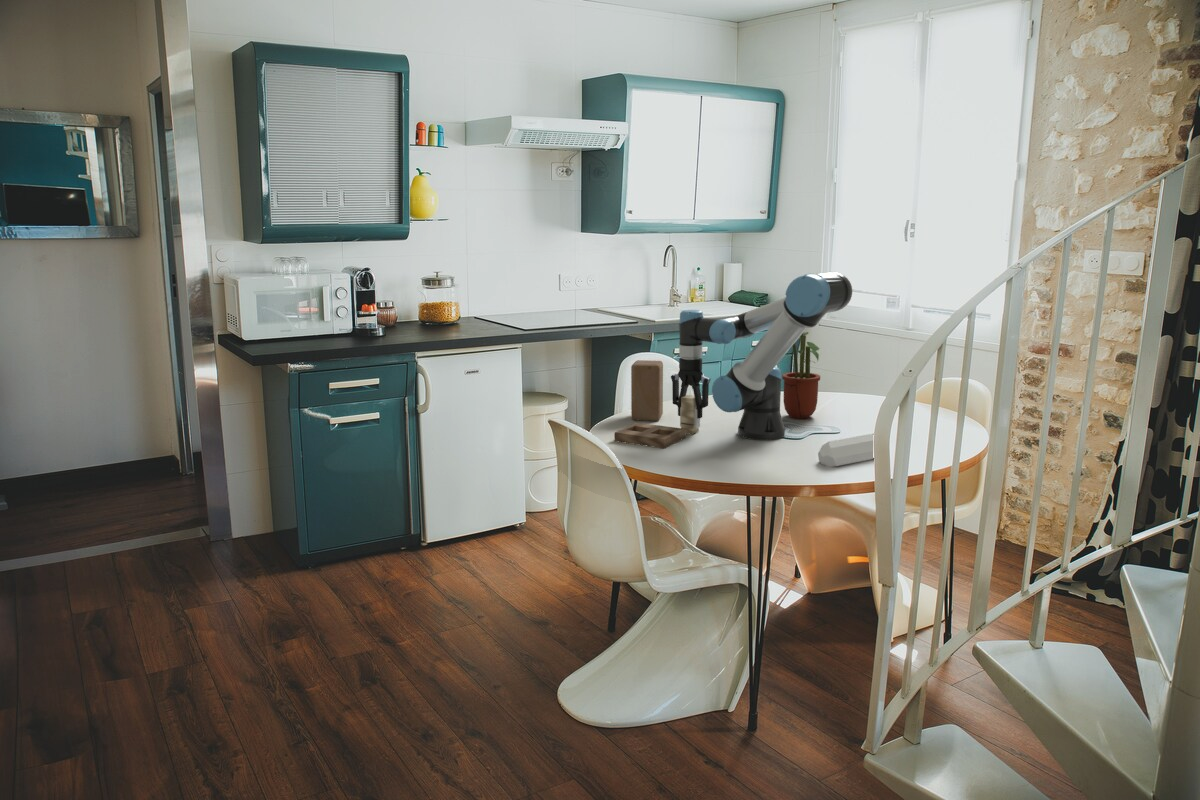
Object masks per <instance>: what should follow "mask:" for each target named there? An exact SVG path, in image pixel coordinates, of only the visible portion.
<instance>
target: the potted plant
mask: <svg viewBox="0 0 1200 800" xmlns="http://www.w3.org/2000/svg"><path fill="white" fill-rule="evenodd" d="M807 335H809V332H808V331H806V332H805V331H804V332H803V333H802V334H801V336H800V337H799V338H798V339H797V340H800V342H799V343H800V344H799V350H797V347H796V342H795V343H794V344H793V345H792V351H793V352H792V353H793V354H789V355H785V356H784V357H783V358H782V360H784V359H786V358H788V357H792V356H793V361H794V371H792V372H786V373H783V374H781V379H782V380H783V405H784V406H783V407H784V410H785V412H786V414H787V415H788V416H790V418H792V419H799V420H802V419H803V420H805V419H808V418H810V417H812V416H813V414H814V413H815V411H816V409H817V405H818V398H819V396H818V395H819V382H820V380H821V375H820V374H817V373H813V372H811V363H814V364H816V362H819V359H820V354H819V353H818V351H819V350H820V349H821V348H820V347H819V346H818V345H816V344H815V343H814V342H812V341H807ZM806 341H807V342H806ZM811 353H812V354H813V356H814V357H815V358H816V360H817V361H816V362H815V361H813V360H811ZM797 354H799V364H798V355H797ZM798 365H799V366H798ZM798 367H799V368H798Z"/></svg>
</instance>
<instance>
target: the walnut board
mask: <svg viewBox="0 0 1200 800" xmlns="http://www.w3.org/2000/svg"><path fill="white" fill-rule="evenodd" d="M686 434H687V433H686V429H683V428H681V427H674V426H666V425H658V424H651V423H643V422H635V423H633V424H630V425H628V426H626V427H623V428H622V429H619V430H617V431H614V434H613V435H614V438H613V440H614V442H615V441H619V442H618V443H622V442H626V443H625V444H629V443H634V444H633V445H636V444H640V445H639V446H643V445H647V446H646V447H650V446H654V447H653V448H657V447H660V448H659V449H664V448H665V449H667V448H668V447H670V446H672V445H674V444H677V443H679V442H680V441H682V440H685V439H686V437H687V435H686ZM681 439H682V440H681ZM666 447H667V448H666Z"/></svg>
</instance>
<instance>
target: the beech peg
mask: <svg viewBox="0 0 1200 800" xmlns="http://www.w3.org/2000/svg"><path fill="white" fill-rule="evenodd" d="M696 408H697V406H696V401H695V396H694V395H691V394H686V396H684V397H681V426H680V428H683V429H686V434H687V433H690V434H689V435H694V433H695V432H697V431H699V432H700V429H699V428H700V427H698V428H694V413H695V409H696ZM697 433H698V432H697ZM695 434H696V433H695Z"/></svg>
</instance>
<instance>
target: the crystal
mask: <svg viewBox="0 0 1200 800" xmlns="http://www.w3.org/2000/svg"><path fill="white" fill-rule="evenodd" d="M874 433H875V432H874ZM874 433H869V434H862V435H858V436H851V437H846V438H840V439H835V440H830V441H827V442H825V443H824V444H822V445H821V447H820V448H819V451H818V452H817V455H818V461H819V462H820V464H821V465H824V466H827V467H831V468H832V467H839V466H843V465H849V464H853V463H854V464H855V463H858V462H864V461H868V460H874V459H873V435H874Z"/></svg>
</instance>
